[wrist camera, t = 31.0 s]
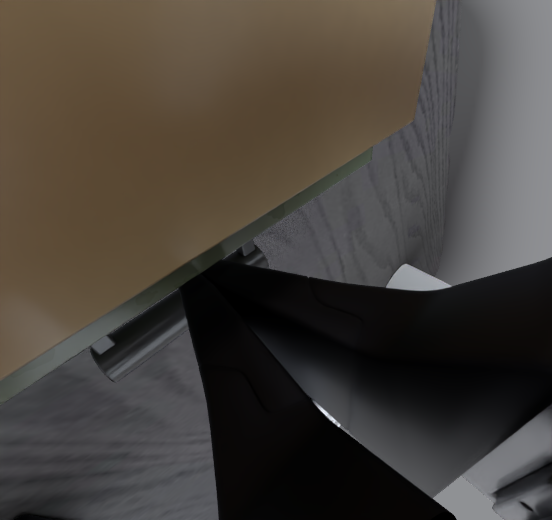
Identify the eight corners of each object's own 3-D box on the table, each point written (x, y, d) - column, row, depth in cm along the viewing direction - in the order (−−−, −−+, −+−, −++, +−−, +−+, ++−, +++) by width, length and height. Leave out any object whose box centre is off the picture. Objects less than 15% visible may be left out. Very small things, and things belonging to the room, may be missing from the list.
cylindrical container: (378, 310, 47) (577, 436, 32) (387, 277, 43) (624, 406, 28) (402, 289, 51) (590, 393, 36) (412, 256, 46) (633, 360, 32)
